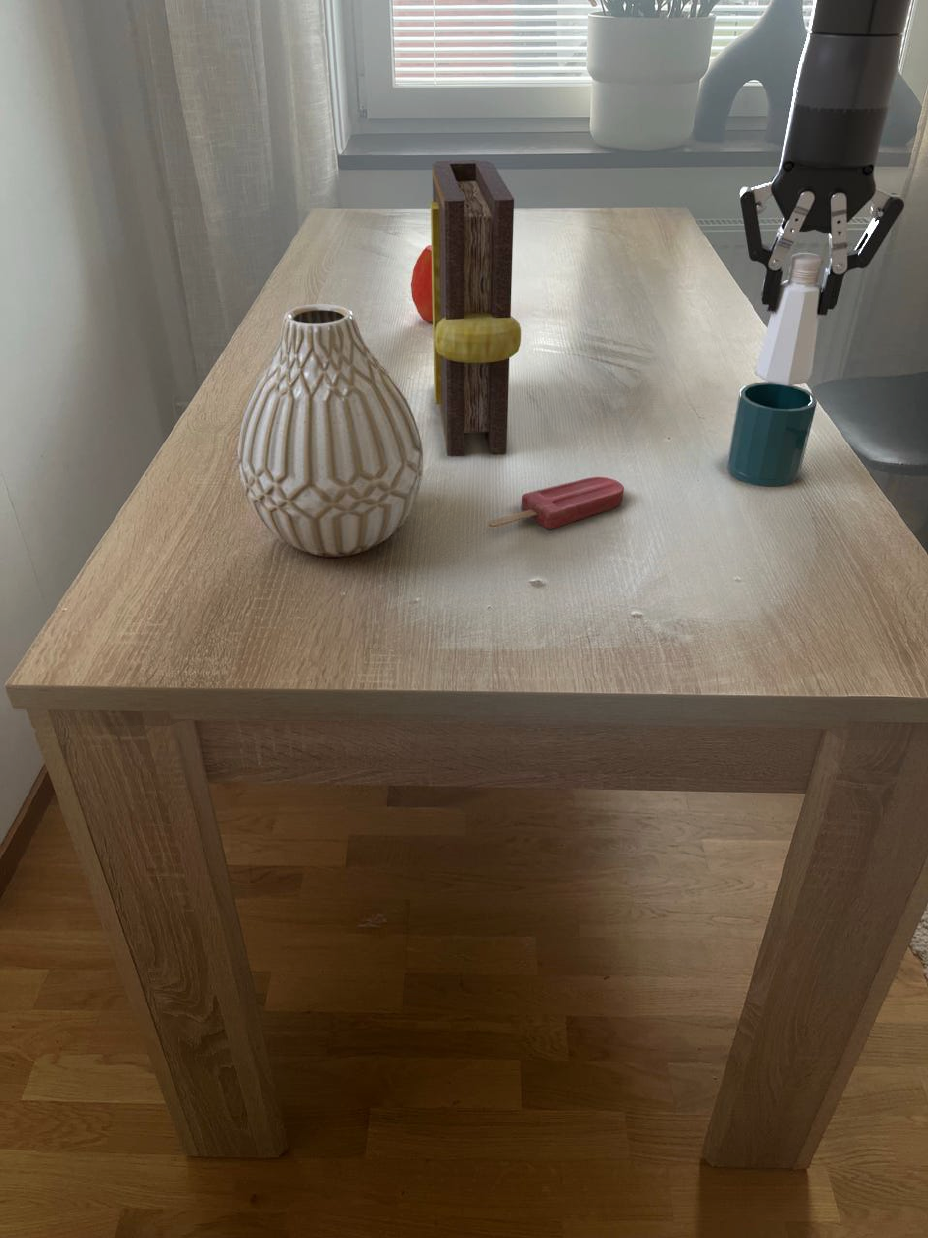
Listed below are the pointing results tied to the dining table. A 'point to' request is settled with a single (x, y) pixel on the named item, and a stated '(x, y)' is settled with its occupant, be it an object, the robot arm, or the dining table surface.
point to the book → (472, 301)
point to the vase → (328, 439)
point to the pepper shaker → (793, 325)
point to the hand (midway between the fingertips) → (796, 310)
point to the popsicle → (567, 502)
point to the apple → (423, 285)
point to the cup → (770, 433)
